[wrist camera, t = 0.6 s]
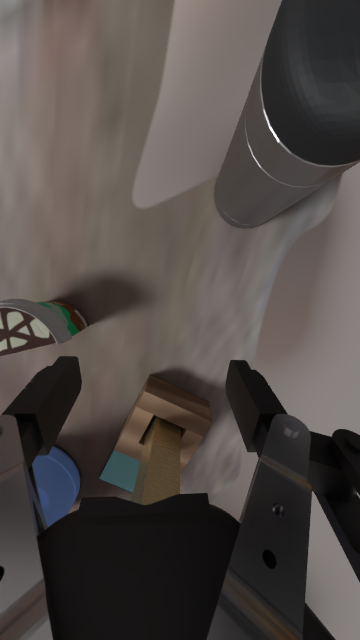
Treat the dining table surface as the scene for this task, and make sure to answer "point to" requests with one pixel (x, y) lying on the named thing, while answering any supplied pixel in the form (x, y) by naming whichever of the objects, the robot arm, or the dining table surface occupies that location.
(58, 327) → the food container
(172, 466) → the tan wooden peg
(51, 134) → the dining table surface
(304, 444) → the robot arm
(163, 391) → the socket block
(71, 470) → the water jug
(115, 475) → the teal mat
